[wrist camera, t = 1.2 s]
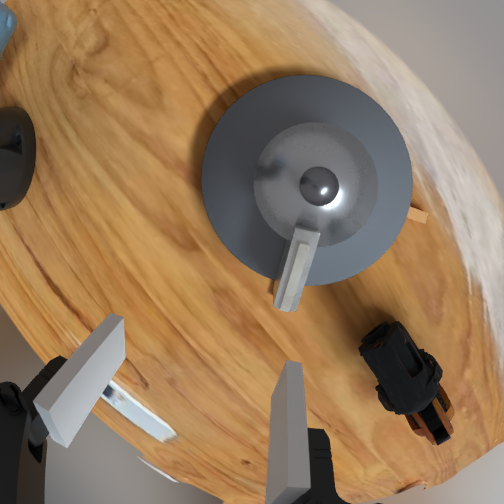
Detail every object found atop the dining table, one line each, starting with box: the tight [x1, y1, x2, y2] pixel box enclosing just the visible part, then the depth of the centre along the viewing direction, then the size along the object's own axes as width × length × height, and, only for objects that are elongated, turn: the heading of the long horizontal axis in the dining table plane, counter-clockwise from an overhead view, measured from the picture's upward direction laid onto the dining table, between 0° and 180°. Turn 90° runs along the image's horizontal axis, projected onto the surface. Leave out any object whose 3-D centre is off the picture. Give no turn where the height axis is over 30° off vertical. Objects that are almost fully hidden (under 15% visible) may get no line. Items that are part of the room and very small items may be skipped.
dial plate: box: [201, 75, 428, 286], centre depth 26 cm, size 22×22×2 cm
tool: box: [358, 321, 454, 445], centre depth 29 cm, size 8×23×15 cm, turn 41°
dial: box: [254, 122, 378, 312], centre depth 23 cm, size 16×10×4 cm, turn 167°
